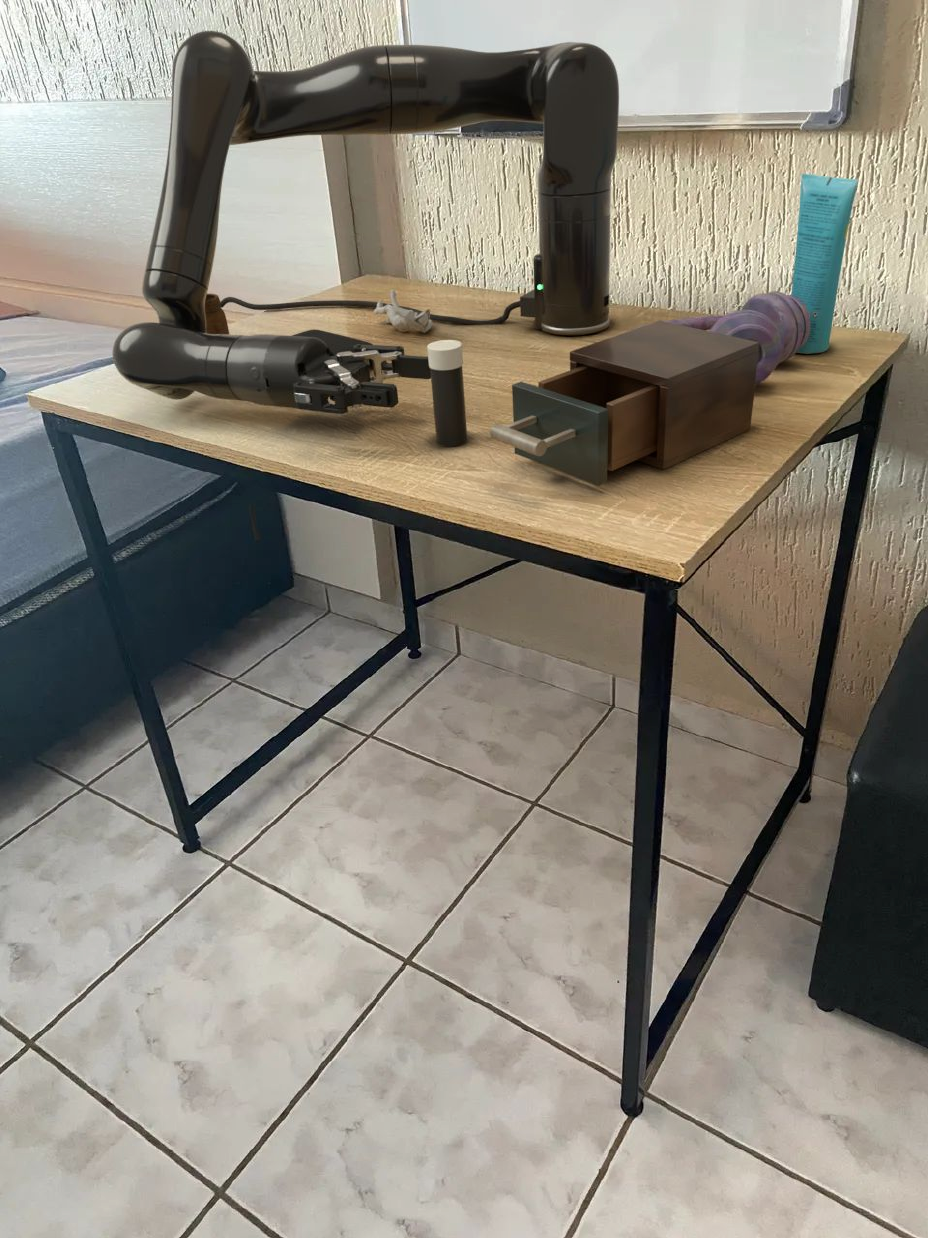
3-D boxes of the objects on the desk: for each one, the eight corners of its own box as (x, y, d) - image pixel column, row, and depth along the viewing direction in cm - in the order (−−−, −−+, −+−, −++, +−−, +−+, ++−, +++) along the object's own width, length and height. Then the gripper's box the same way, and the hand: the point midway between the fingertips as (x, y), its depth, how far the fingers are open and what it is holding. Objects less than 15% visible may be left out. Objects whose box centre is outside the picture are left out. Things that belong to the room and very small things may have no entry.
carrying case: (252, 367, 123) (322, 389, 114) (248, 344, 121) (319, 364, 112) (317, 346, 129) (388, 365, 120) (313, 324, 127) (385, 341, 118)
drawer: (556, 505, 81) (555, 429, 78) (474, 469, 89) (469, 399, 85) (686, 446, 90) (690, 375, 86) (601, 418, 97) (601, 352, 94)
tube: (845, 349, 113) (871, 175, 103) (821, 359, 111) (846, 182, 100) (791, 338, 118) (811, 170, 108) (768, 347, 116) (786, 177, 105)
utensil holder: (226, 340, 135) (208, 252, 128) (237, 351, 130) (218, 260, 123) (185, 348, 133) (164, 259, 126) (194, 359, 128) (173, 267, 121)
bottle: (429, 444, 97) (420, 348, 92) (446, 432, 100) (438, 338, 94) (457, 449, 96) (450, 351, 90) (474, 436, 98) (468, 341, 93)
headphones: (822, 350, 111) (666, 356, 123) (820, 278, 108) (660, 291, 119) (766, 400, 99) (599, 401, 111) (762, 321, 95) (589, 330, 107)
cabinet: (663, 469, 88) (668, 378, 83) (570, 436, 96) (569, 351, 92) (750, 429, 95) (759, 342, 90) (656, 401, 103) (660, 320, 98)
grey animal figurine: (410, 324, 139) (457, 311, 129) (398, 353, 138) (443, 342, 128) (369, 293, 134) (414, 277, 125) (356, 322, 134) (400, 309, 124)
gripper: (319, 383, 109) (446, 393, 103) (249, 428, 98) (387, 443, 92) (309, 317, 105) (441, 324, 99) (235, 357, 94) (378, 368, 88)
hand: (414, 381), depth 96 cm, fingers open, 8 cm apart
